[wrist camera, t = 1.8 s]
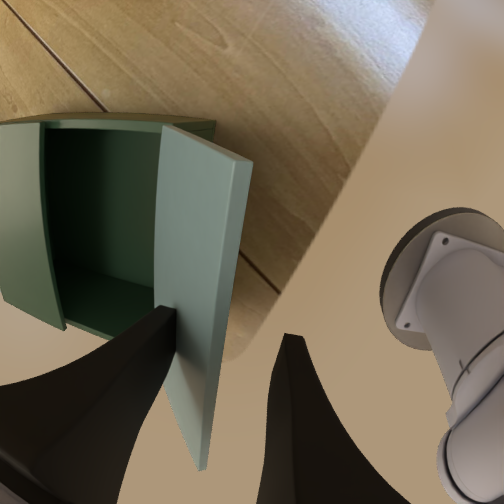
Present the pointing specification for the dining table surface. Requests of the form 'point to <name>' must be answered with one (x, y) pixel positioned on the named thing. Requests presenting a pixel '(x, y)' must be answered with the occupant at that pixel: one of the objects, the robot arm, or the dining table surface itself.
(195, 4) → the dining table surface
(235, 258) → the hatch
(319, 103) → the dining table surface
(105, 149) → the seed box
